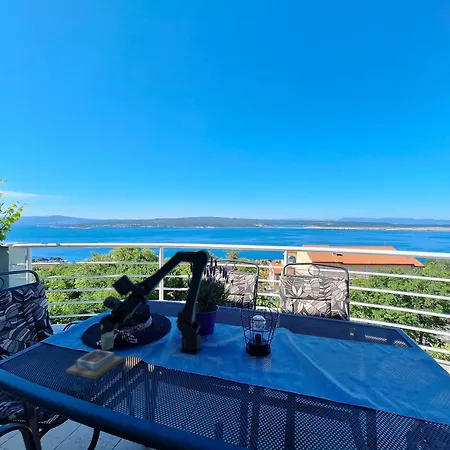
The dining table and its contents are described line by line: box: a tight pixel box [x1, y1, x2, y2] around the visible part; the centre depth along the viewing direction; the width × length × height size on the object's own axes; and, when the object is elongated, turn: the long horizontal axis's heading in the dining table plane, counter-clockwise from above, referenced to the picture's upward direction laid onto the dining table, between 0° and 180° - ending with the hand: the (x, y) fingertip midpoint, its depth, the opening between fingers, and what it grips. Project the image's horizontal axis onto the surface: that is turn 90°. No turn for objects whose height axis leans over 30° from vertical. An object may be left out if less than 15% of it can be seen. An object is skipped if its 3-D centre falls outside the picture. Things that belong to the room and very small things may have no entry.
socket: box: [65, 349, 125, 381], centre depth 95 cm, size 13×13×4 cm
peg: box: [100, 323, 115, 351], centre depth 110 cm, size 4×4×10 cm
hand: (104, 331), depth 110 cm, fingers closed on peg, 4 cm apart
